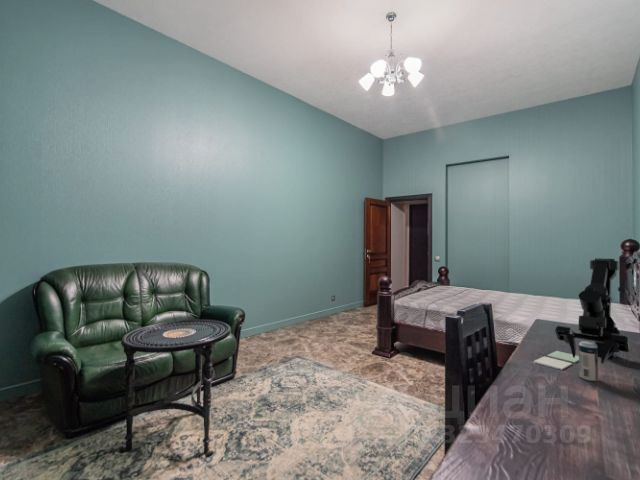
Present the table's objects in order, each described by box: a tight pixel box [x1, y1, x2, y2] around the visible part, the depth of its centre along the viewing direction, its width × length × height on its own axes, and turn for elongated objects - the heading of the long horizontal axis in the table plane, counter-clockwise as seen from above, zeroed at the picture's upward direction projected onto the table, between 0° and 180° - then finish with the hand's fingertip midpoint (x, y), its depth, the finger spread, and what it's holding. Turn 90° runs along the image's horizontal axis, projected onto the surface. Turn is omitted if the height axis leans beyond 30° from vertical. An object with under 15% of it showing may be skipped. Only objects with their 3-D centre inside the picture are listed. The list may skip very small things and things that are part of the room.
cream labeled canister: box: [578, 340, 599, 382], centre depth 105 cm, size 5×5×12 cm
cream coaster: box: [533, 356, 573, 371], centre depth 118 cm, size 9×9×1 cm
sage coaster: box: [546, 350, 579, 364], centre depth 125 cm, size 9×9×1 cm
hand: (587, 359), depth 104 cm, fingers open, 7 cm apart
